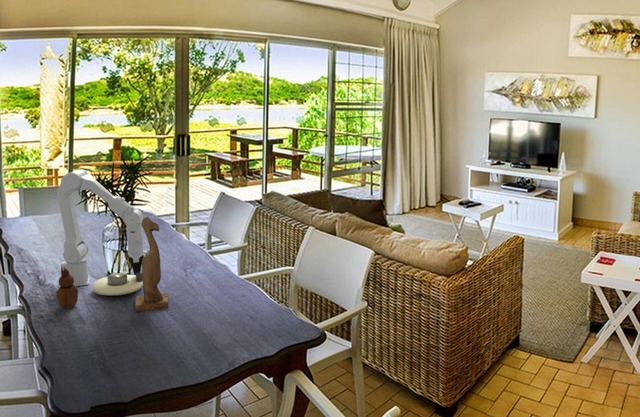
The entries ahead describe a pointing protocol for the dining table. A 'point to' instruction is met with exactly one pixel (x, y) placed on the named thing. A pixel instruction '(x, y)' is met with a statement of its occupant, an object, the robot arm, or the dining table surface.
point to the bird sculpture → (151, 273)
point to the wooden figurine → (67, 290)
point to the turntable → (131, 286)
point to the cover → (117, 279)
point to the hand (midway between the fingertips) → (137, 274)
